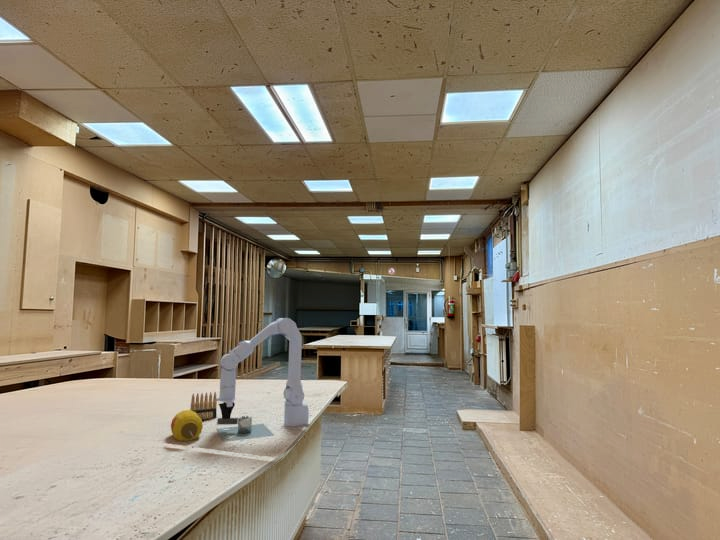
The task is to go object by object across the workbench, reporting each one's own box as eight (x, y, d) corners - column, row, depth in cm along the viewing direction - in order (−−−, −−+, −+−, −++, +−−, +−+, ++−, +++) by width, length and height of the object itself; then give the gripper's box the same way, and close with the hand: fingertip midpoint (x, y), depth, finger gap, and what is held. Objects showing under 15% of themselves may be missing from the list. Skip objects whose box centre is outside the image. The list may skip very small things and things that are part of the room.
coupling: (252, 429, 154) (253, 414, 155) (250, 432, 149) (250, 418, 150) (219, 429, 153) (219, 415, 154) (215, 433, 148) (216, 418, 149)
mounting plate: (263, 426, 163) (263, 423, 163) (274, 438, 147) (274, 434, 147) (216, 432, 155) (216, 428, 156) (222, 445, 139) (222, 441, 139)
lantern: (172, 402, 157) (182, 419, 132) (198, 405, 162) (212, 422, 136) (164, 429, 155) (172, 451, 129) (190, 431, 160) (203, 453, 134)
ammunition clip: (189, 423, 168) (191, 394, 169) (189, 422, 169) (190, 393, 171) (216, 420, 173) (217, 391, 174) (215, 419, 174) (217, 391, 176)
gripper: (214, 383, 159) (212, 419, 158) (219, 389, 146) (217, 428, 145) (233, 382, 162) (231, 417, 161) (239, 388, 150) (237, 426, 148)
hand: (225, 422), depth 153 cm, fingers closed, pressing on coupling
